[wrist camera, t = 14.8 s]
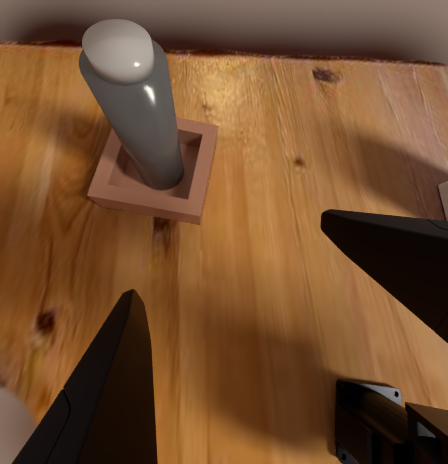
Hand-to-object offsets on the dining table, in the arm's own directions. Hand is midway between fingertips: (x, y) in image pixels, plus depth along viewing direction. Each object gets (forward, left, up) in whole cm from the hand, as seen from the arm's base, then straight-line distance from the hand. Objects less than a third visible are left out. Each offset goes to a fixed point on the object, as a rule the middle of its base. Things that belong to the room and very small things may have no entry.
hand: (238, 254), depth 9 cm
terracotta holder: (+8, -10, -13) cm, 19 cm away
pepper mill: (+8, -10, -13) cm, 18 cm away
